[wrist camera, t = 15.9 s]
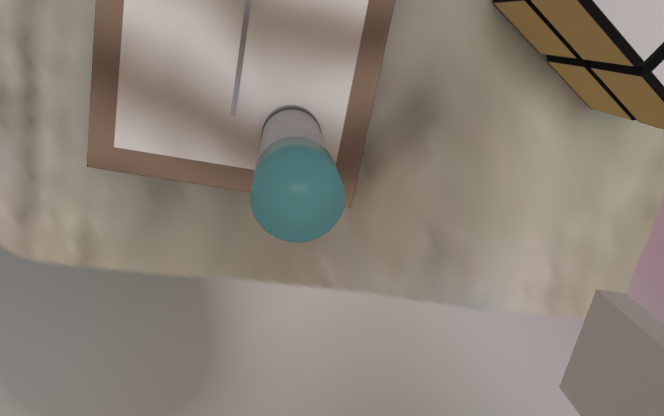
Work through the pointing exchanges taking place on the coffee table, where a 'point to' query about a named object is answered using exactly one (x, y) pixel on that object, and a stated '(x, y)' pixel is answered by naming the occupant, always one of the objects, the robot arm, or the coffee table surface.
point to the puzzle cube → (601, 50)
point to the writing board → (229, 83)
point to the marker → (295, 178)
